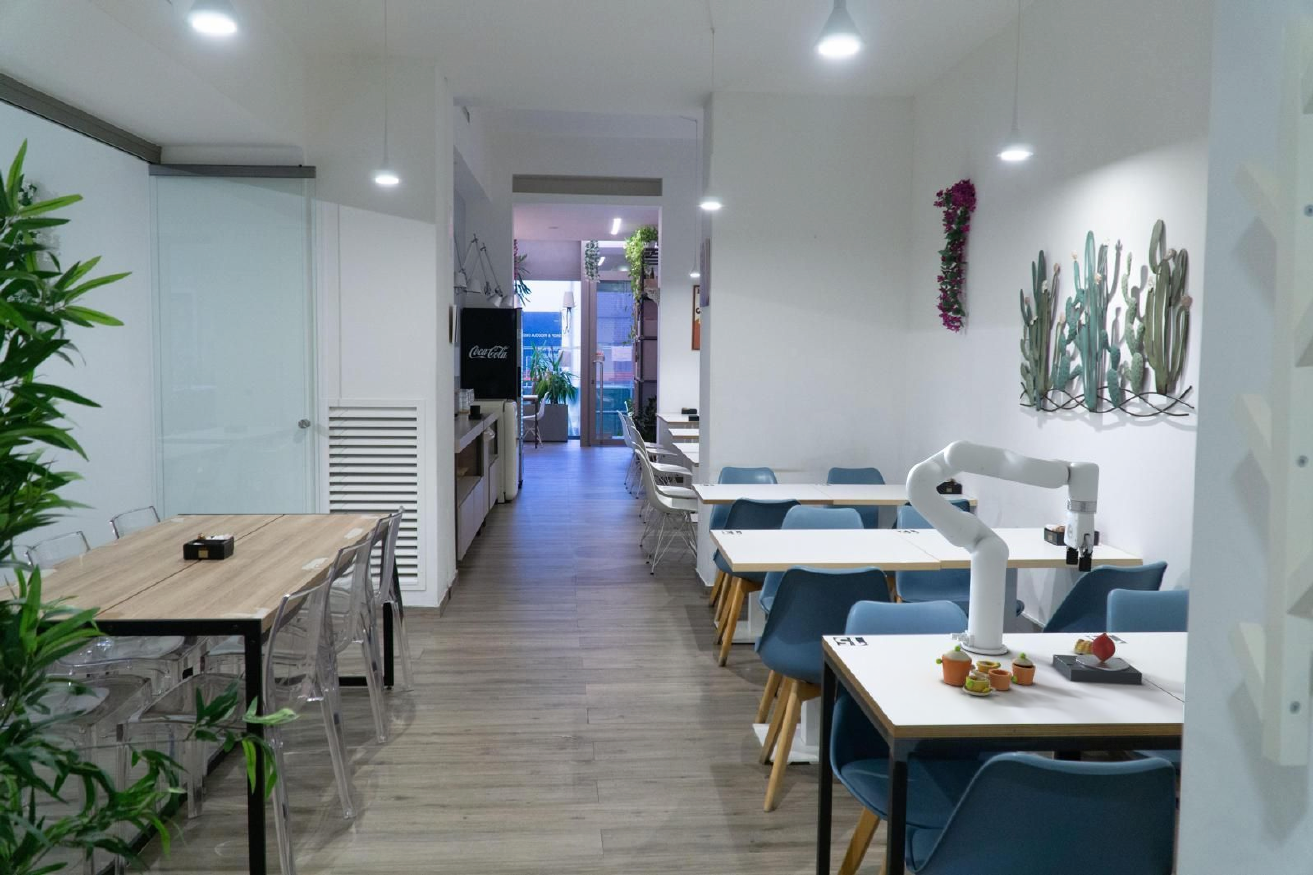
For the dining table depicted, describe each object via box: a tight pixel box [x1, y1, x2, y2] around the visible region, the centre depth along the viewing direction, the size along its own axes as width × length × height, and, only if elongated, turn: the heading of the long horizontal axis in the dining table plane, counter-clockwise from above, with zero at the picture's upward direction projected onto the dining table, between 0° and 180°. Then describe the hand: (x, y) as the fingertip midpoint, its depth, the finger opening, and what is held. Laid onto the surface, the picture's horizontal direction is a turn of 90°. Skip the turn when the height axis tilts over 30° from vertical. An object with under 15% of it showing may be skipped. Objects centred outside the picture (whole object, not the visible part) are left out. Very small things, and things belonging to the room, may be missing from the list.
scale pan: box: [1076, 654, 1130, 671], centre depth 264 cm, size 13×13×1 cm
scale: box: [1052, 654, 1143, 685], centre depth 265 cm, size 18×14×3 cm
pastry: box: [1073, 638, 1094, 655], centre depth 283 cm, size 9×7×4 cm
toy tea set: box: [935, 645, 1037, 697], centre depth 253 cm, size 26×16×10 cm, turn 122°
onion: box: [1091, 631, 1116, 662], centre depth 264 cm, size 6×6×8 cm
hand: (1078, 568), depth 275 cm, fingers open, 9 cm apart
